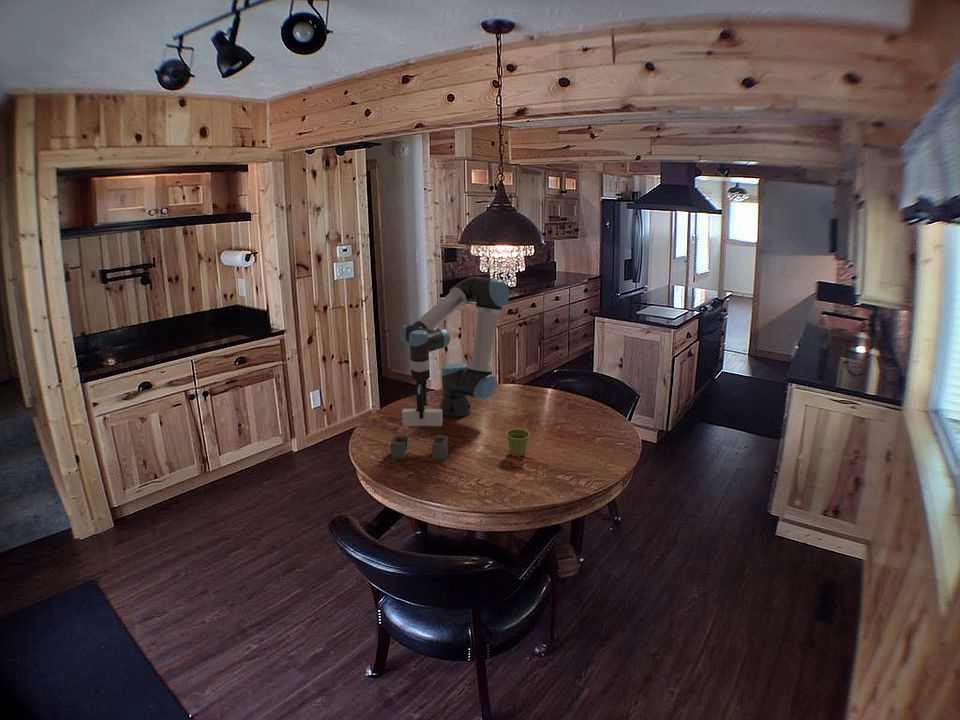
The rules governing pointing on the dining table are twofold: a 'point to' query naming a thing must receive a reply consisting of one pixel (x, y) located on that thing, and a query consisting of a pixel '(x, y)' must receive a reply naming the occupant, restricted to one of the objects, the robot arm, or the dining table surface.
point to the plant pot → (517, 441)
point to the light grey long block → (431, 417)
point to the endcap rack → (401, 447)
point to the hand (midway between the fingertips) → (422, 422)
